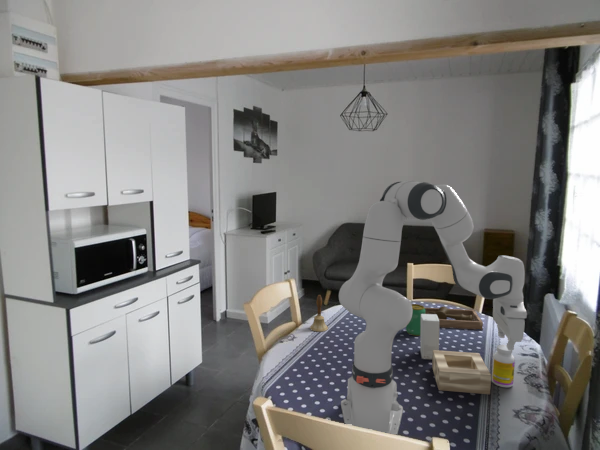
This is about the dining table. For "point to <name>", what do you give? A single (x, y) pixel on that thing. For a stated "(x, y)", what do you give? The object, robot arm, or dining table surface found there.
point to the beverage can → (415, 320)
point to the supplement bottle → (503, 367)
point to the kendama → (445, 313)
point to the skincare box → (429, 335)
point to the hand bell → (319, 318)
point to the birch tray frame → (461, 372)
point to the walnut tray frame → (459, 323)
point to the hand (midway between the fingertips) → (505, 343)
